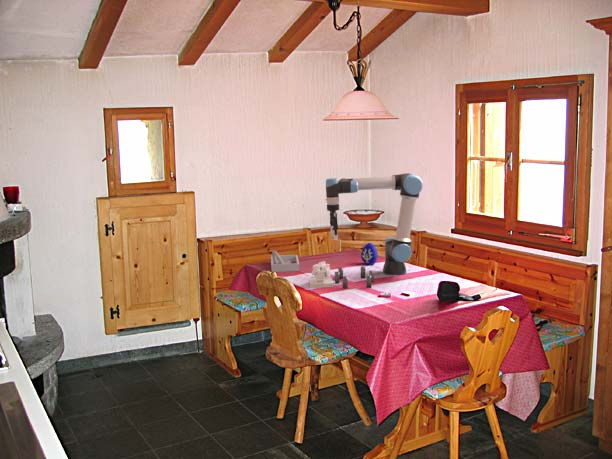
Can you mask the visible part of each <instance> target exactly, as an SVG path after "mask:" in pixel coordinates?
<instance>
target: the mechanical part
mask: <svg viewBox="0 0 612 459" xmlns="http://www.w3.org/2000/svg"><path fill="white" fill-rule="evenodd" d="M330 265H331V264H330V263H326V261H325V260H323V261H319V262H318V263H316V264H314V265H312V271H311V275H312V276H314V278H316V280H317V282H318V279H321V280H322V281H323V280H324V279H325V281H326V279H329V278H331V275H332V274H331V272H332V271H331V266H330Z"/></svg>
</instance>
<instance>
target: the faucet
mask: <svg viewBox="0 0 612 459" xmlns="http://www.w3.org/2000/svg"><path fill="white" fill-rule="evenodd" d="M279 255H280V254H279V253H278V252H277V250H272V251H271V256H272V257H273V260H274V263H273V264H292V262H291V261H288V260H287V261H288V262H285V263H284V262H283V261H282V259H281V258H280V256H279ZM276 257H277V259H278V261H279V262H280V263H278V262H277V259H276Z"/></svg>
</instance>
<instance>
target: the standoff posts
mask: <svg viewBox="0 0 612 459" xmlns="http://www.w3.org/2000/svg"><path fill="white" fill-rule="evenodd" d="M337 268H338V270H337V271H334V285H339V284H340V283H341V280H342V289H344V290H347V289H349V281H348V280H349V278H348V275H346V276H345V275H344V267H342V266H338V267H337ZM360 279H366V280H365V281H366V283H365V284H366V286H365V287H366V289H372V283H375V271H374V270H369V271H368V275H366V266H364V265H362V266H360Z"/></svg>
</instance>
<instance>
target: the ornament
mask: <svg viewBox="0 0 612 459" xmlns="http://www.w3.org/2000/svg"><path fill="white" fill-rule="evenodd" d="M360 257H361V261H362V262H363V263H364V264H366V265H369V266H370V265H374V264H375V263H376V262H377V260H378V258H379V254H378V251H377V248H376V246H375V245H374V244H373V243H372V242H367V243H366V244H365V245H364V247H363V248H362V250H361V254H360Z"/></svg>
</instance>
